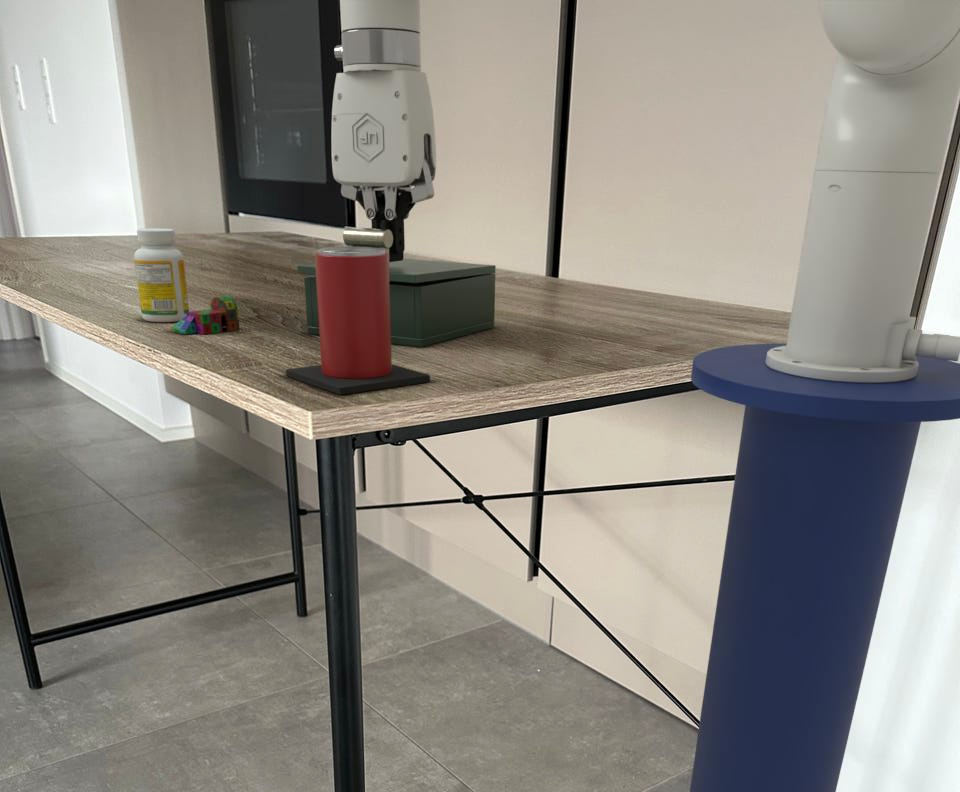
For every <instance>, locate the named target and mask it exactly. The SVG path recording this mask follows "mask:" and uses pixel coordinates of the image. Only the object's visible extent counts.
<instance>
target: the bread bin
mask: <svg viewBox="0 0 960 792" xmlns="http://www.w3.org/2000/svg"><path fill="white" fill-rule="evenodd" d="M303 281H304V295H305V311H306V324H307V325H306V326H307V334H308V335H315V336H320V335H319V318H318V301H317V284H316V275H308V276H304V277H303ZM389 285H390V323H391V345H400V346H408V347H409V346H410V347H416V348H423V347H426V346H432V345H434V344H438V343H442V342H446V341H449V340H453V339H457V338H460V337H464V336H468V335H470V334H475V333H478V332H482V331H487V330H489V329H493V328H495V311H496V310H495V309H496V272H495V273H491V274H483V275H475V276H468V277H460V278H452V279H445V280H437V281H429V282H421V283H406V282H394V281H389Z"/></svg>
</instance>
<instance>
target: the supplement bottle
mask: <svg viewBox="0 0 960 792" xmlns="http://www.w3.org/2000/svg"><path fill="white" fill-rule="evenodd" d="M136 233H137V234H136V235H137V241H138V244H140V245H141V246H140V248H138V249H137V250H136V251H135V252H134V254H133V260H134V261H133V262H134V268H135V274H136V275H135V276H136V282H137V291H138V299H139V303H140V304H139V305H140V311H141V317H142V319H143V320H144V321H146V322H151V323H178V322H179V321H180V320H182V319H183V318H184V317H185V316H187V313H186V312H190V307H189V305H190V304H189V299H188V298H189V295H188V287H187V279H186V269H185V259H184V255H183V253H182V252H181V250H179V249H178V248H175V247H174V244H175V243H176V234H175V230H174V229H172V228H162V227H161V228H158V227H157V228H155V227H153V228H150V227H149V228H147V227H146V228H145V227H144V228H137V229H136Z"/></svg>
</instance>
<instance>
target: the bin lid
mask: <svg viewBox="0 0 960 792" xmlns="http://www.w3.org/2000/svg"><path fill="white" fill-rule="evenodd" d="M342 239H343V243H344V244H345V246H346V247H373V248H381V249H384V250H385V253H388V254H389V248H390V247H391V246H392V243H393V235H392V232H391V231H390V230H389V229H375V228H372V227H358V226H357V227H356V226H355V227H354V226H352V227H351V226H347V227H345V229H343V233H342ZM496 267H497V265H495V264H481V263H469V262H455V261H454V262H453V261H439V260H427V259H426V260H425V259H412V258H403V260H402V261H395V262H389V281H394V282H406V283H421V282H429V281H437V280H445V279H452V278H460V277H468V276H475V275H483V274H491V273H495V274H496ZM297 274H301V275H310V276H314V275H316V268H315V263H309V264H308V263H307V264H298V265H297Z"/></svg>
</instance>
